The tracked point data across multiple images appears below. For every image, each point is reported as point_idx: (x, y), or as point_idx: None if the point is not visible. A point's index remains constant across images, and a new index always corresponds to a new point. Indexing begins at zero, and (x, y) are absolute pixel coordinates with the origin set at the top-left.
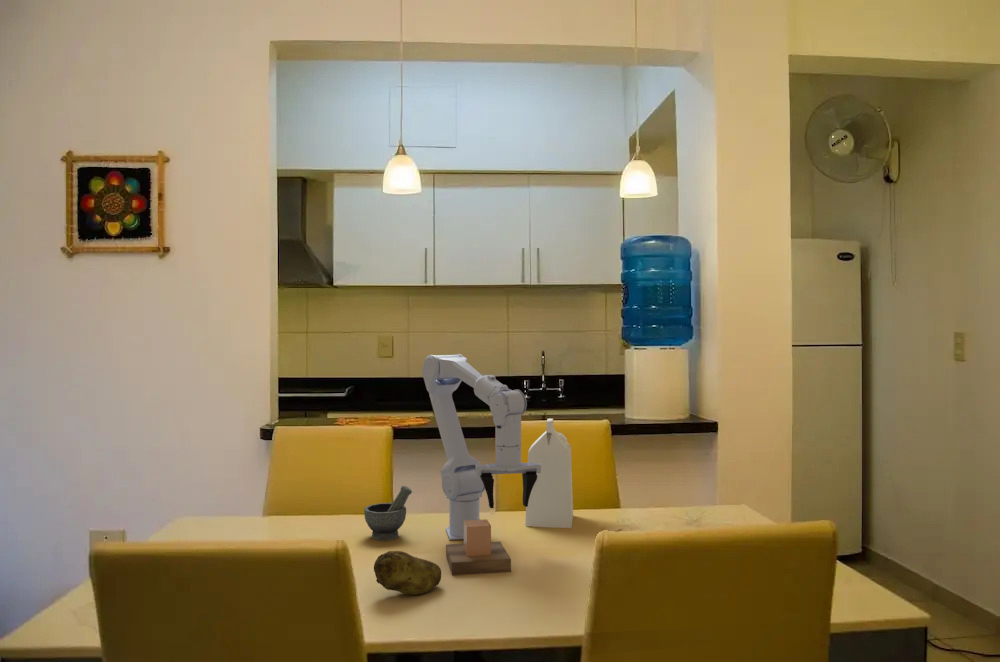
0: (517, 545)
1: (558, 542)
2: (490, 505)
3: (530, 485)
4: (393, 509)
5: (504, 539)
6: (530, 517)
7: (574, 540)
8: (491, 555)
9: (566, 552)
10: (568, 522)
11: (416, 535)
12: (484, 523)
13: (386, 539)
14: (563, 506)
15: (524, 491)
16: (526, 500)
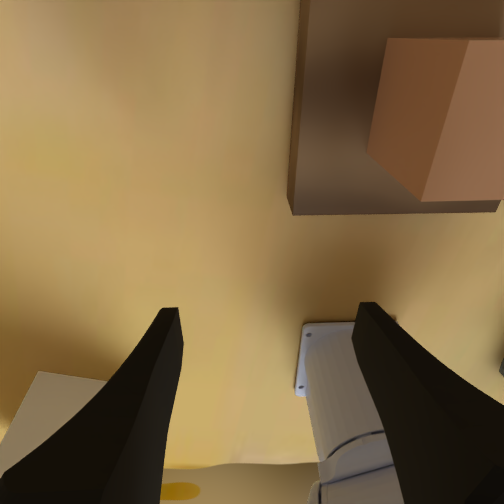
0: (214, 260)
1: (75, 269)
2: (384, 311)
3: (99, 417)
4: None
5: (244, 312)
6: None
7: (20, 279)
8: (390, 22)
9: (42, 166)
10: (39, 386)
11: (458, 360)
12: (480, 110)
13: None
14: (32, 435)
15: (162, 400)
16: (161, 329)
